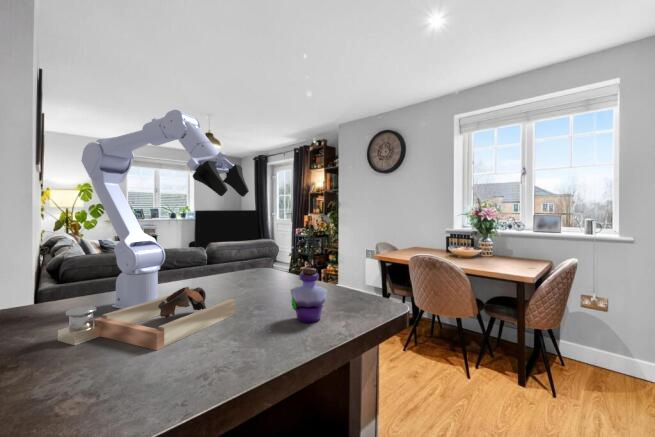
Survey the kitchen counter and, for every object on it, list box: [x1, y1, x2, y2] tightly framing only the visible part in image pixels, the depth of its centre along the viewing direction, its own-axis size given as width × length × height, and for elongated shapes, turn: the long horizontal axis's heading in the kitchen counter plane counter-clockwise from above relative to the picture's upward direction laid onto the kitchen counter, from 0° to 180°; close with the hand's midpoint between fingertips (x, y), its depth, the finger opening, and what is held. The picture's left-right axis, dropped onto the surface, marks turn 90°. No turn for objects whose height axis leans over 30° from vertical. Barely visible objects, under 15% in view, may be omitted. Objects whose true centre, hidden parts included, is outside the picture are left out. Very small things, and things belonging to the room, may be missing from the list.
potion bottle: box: [290, 267, 328, 325], centre depth 72 cm, size 9×9×12 cm
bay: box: [93, 294, 237, 351], centre depth 67 cm, size 17×22×4 cm
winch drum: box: [57, 305, 102, 346], centre depth 59 cm, size 5×5×5 cm
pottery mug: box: [158, 286, 207, 319], centre depth 72 cm, size 12×10×8 cm
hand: (235, 193), depth 70 cm, fingers open, 7 cm apart
